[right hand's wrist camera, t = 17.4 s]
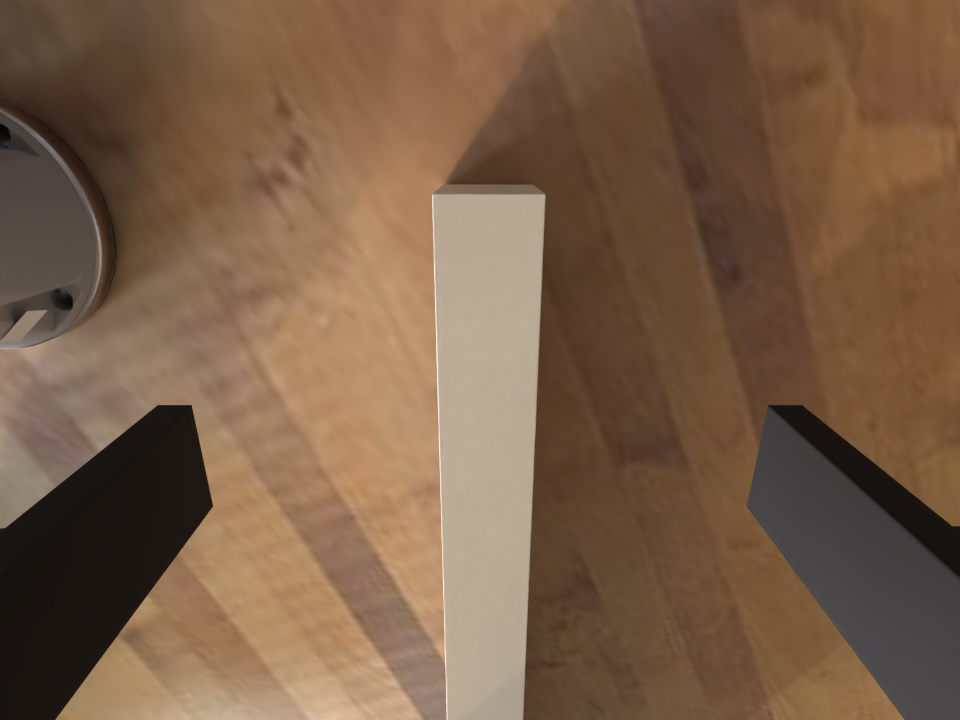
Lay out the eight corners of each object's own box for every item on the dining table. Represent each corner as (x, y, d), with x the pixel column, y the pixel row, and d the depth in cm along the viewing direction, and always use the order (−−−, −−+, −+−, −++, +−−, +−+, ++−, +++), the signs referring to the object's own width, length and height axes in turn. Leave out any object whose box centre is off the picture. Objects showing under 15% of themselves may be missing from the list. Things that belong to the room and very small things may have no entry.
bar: (443, 184, 33) (432, 193, 26) (533, 184, 33) (545, 193, 26) (458, 887, 59) (454, 986, 52) (508, 888, 59) (511, 987, 52)
